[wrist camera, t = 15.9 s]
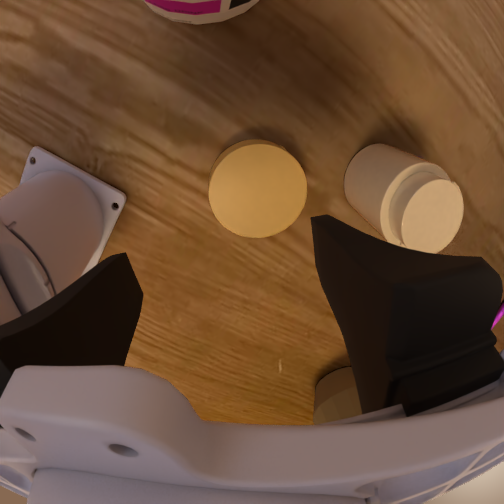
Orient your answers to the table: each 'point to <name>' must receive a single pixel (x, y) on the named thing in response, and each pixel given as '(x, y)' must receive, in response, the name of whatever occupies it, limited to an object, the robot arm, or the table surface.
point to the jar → (404, 198)
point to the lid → (256, 188)
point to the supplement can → (199, 9)
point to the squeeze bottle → (336, 397)
